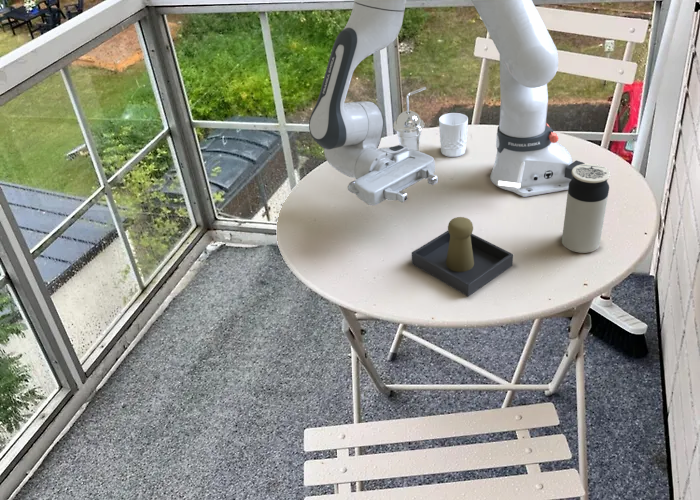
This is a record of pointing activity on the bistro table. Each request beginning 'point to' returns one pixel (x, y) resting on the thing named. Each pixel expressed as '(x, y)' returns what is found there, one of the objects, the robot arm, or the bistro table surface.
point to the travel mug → (585, 208)
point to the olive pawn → (460, 245)
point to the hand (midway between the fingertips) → (420, 189)
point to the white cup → (453, 134)
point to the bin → (485, 269)
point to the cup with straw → (409, 126)
